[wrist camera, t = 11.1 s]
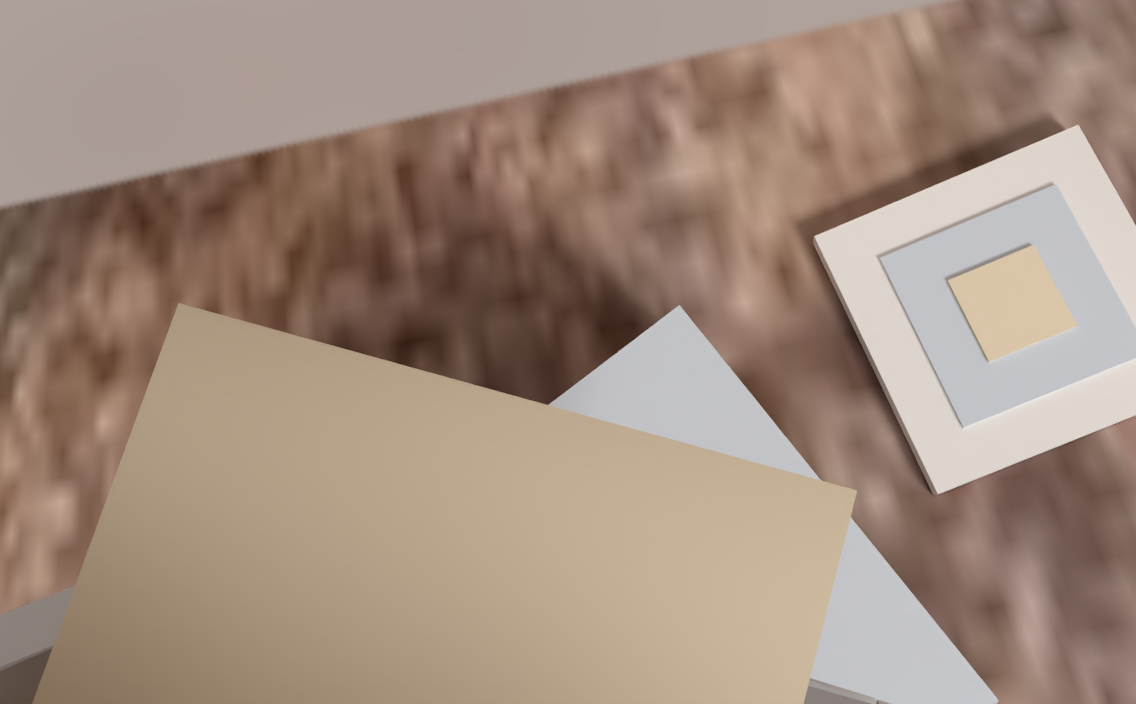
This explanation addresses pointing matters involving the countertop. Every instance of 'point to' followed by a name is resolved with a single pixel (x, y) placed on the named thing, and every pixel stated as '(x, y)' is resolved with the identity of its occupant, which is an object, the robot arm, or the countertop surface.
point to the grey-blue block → (744, 430)
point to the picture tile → (996, 307)
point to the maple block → (429, 546)
